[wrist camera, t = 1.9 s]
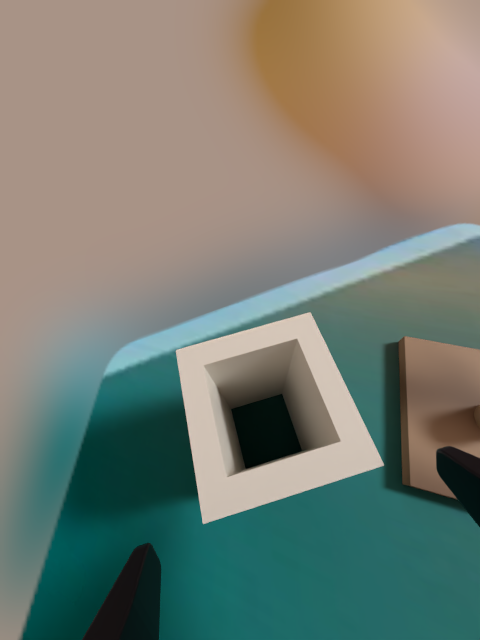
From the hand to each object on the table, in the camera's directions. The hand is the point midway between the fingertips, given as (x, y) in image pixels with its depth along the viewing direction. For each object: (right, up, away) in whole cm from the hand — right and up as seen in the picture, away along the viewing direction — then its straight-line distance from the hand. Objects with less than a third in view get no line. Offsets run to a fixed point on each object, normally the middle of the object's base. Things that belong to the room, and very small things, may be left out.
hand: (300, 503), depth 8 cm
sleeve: (0, -2, +11) cm, 11 cm away
